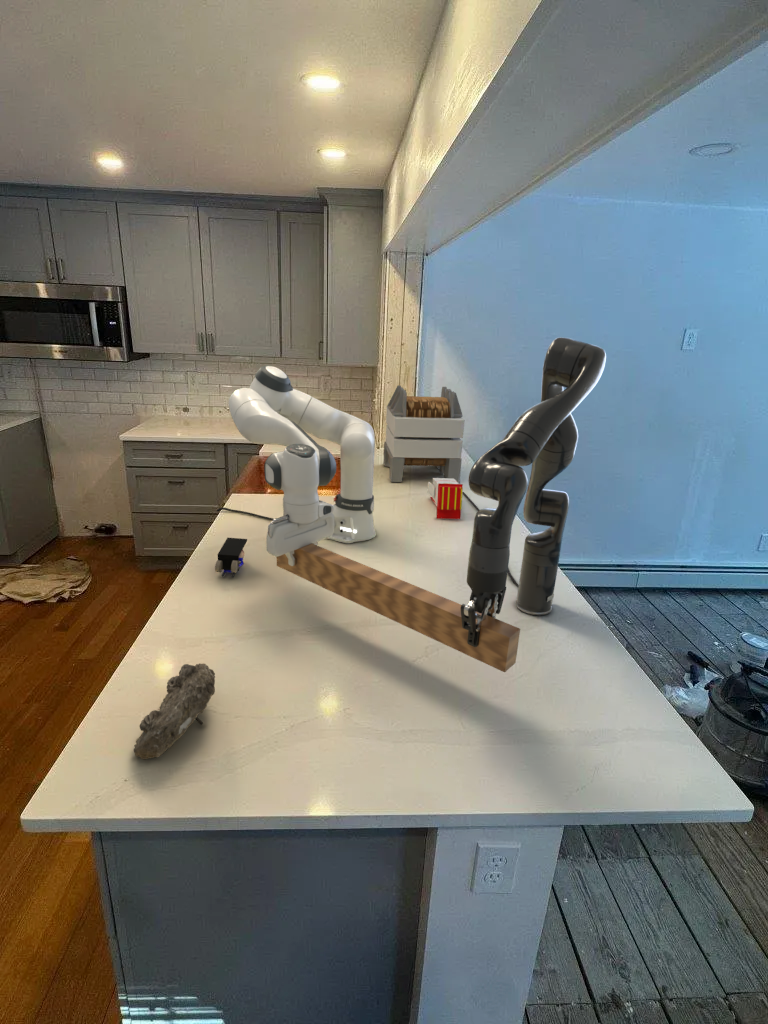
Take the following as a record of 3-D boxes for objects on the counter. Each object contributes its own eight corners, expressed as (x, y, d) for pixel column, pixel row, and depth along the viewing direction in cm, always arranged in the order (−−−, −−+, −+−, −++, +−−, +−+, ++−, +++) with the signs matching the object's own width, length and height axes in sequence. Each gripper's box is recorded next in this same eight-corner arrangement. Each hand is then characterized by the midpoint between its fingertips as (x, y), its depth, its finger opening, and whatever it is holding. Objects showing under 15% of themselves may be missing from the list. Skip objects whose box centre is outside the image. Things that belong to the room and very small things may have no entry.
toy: (455, 474, 240) (467, 485, 211) (453, 505, 243) (464, 520, 214) (426, 473, 240) (434, 484, 211) (425, 504, 243) (432, 519, 213)
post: (276, 565, 149) (275, 538, 146) (289, 560, 152) (288, 533, 149) (504, 672, 109) (509, 637, 107) (515, 662, 113) (520, 628, 110)
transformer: (382, 463, 289) (386, 382, 275) (445, 464, 293) (451, 384, 279) (390, 482, 257) (394, 392, 243) (460, 483, 261) (468, 394, 247)
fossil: (165, 664, 116) (216, 632, 111) (198, 695, 118) (250, 665, 113) (108, 752, 96) (167, 718, 91) (150, 786, 99) (209, 755, 94)
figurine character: (238, 584, 162) (249, 557, 175) (236, 562, 158) (247, 536, 172) (215, 584, 161) (227, 556, 175) (212, 561, 158) (225, 535, 171)
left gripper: (277, 524, 131) (278, 578, 136) (338, 504, 146) (337, 553, 151) (259, 517, 135) (261, 570, 139) (321, 498, 150) (321, 546, 154)
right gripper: (486, 581, 101) (477, 663, 107) (523, 557, 111) (512, 632, 117) (451, 568, 105) (444, 647, 111) (489, 546, 116) (481, 619, 122)
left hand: (301, 561), depth 145 cm, fingers closed on post, 4 cm apart
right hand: (479, 639), depth 114 cm, fingers closed on post, 4 cm apart
